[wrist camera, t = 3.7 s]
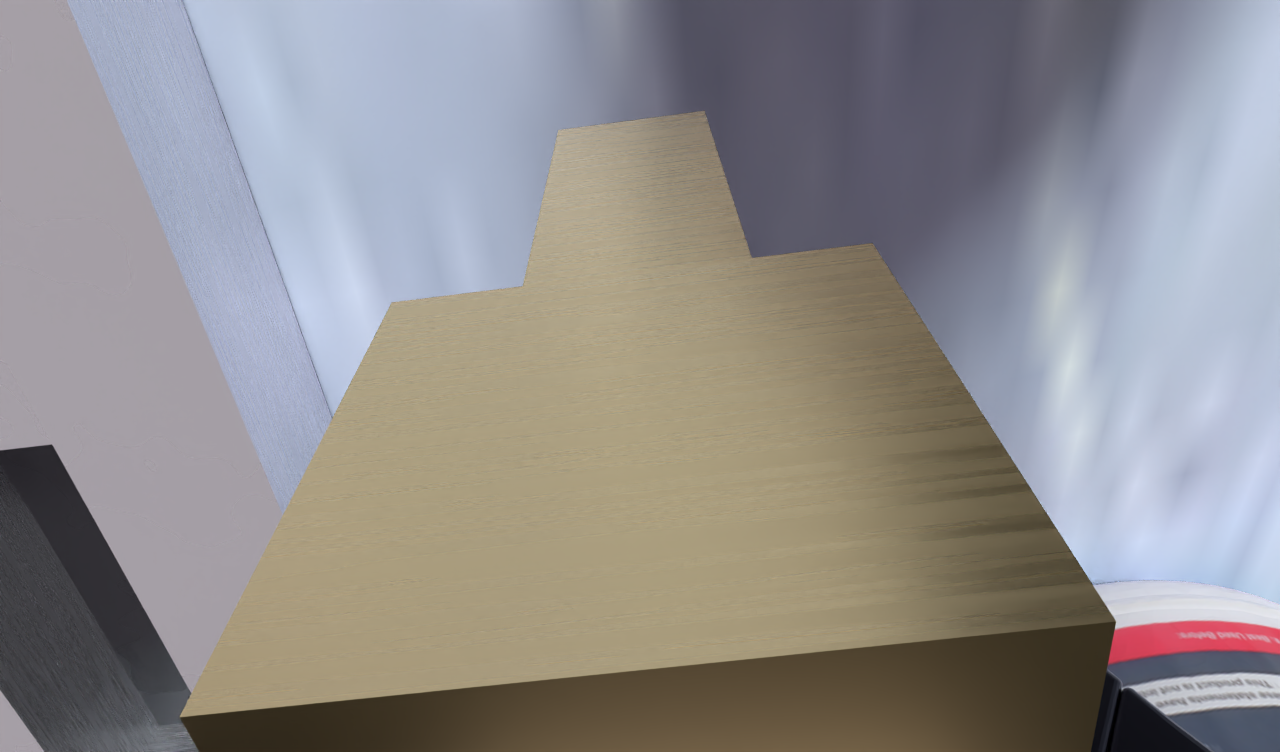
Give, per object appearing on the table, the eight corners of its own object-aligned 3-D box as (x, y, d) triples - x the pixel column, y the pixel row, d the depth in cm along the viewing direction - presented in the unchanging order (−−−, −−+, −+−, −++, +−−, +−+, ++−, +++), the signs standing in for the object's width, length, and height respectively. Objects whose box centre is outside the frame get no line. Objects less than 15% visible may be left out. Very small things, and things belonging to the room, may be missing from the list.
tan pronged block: (755, 59, 8) (1116, 622, 2) (786, 610, 12) (962, 1408, 6) (498, 93, 8) (178, 718, 2) (606, 629, 12) (590, 1431, 6)
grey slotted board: (154, -77, 13) (42, -59, 11) (489, 858, 26) (475, 972, 23) (-467, 14, 14) (-718, 51, 11) (151, 888, 26) (98, 1003, 23)
